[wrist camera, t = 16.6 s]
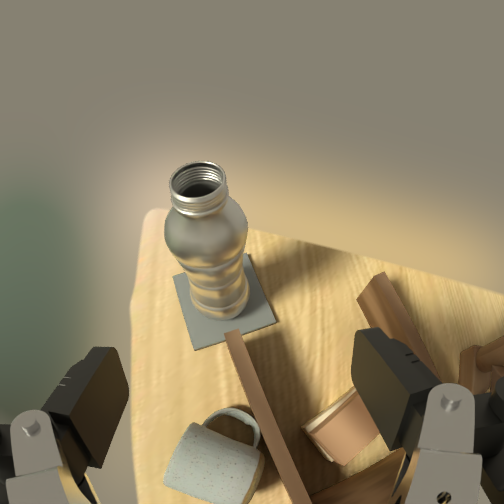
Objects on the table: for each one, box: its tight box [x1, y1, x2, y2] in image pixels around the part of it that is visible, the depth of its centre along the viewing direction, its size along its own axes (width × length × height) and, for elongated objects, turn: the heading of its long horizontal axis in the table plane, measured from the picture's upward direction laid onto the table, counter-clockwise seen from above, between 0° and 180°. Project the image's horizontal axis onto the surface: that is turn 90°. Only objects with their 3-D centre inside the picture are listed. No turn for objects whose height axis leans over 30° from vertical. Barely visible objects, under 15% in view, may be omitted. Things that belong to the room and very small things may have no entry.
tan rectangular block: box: [301, 386, 380, 466], centre depth 27 cm, size 12×5×6 cm, turn 124°
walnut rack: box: [224, 272, 441, 504], centre depth 25 cm, size 18×22×12 cm
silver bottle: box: [164, 161, 250, 321], centre depth 27 cm, size 6×7×20 cm
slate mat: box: [173, 253, 276, 351], centre depth 36 cm, size 10×10×1 cm
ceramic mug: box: [163, 408, 265, 504], centre depth 24 cm, size 11×8×8 cm
